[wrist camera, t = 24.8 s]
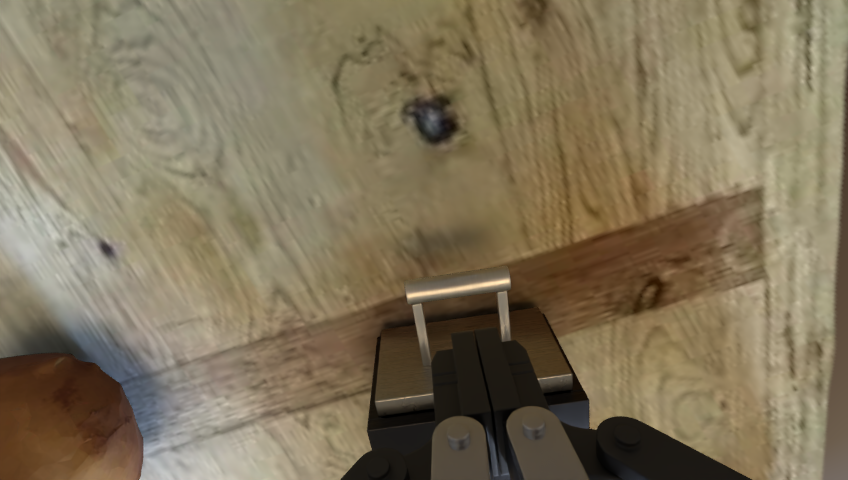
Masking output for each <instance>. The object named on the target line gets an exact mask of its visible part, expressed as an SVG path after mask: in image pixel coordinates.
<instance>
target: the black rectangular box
mask: <svg viewBox="0 0 848 480" xmlns="http://www.w3.org/2000/svg"><path fill="white" fill-rule="evenodd" d="M542 315H543V317H544V319H545V321H546V323H547V325H548V327H549V329H550V331H551V333H552V335H553V337H554V339H555V341H556V343H557V345H558V347H559V349H560V351H561V353H562V355H563V357H564V359H565V361H566V362H567V364H568V366H569V368H570V370H571V372H572V381H573V389H572V390H566V391H559V392H554V393H555V395H548V396H544V397H545V399H546V402H547V404H548V407H549V409H550V411H551V412H552V413H554V414H555V415H556V416H557V417H558V419H559V420H560V421H562V422H564V423H566V424H568V425H571V426H574V427H579V428H586V429H589V399H588V397H587V395H586V393H585V391H584V390H583V388H582V386H581V384H580V382H579V380H578V378H577V376H576V374H575V372H574V371H573V369H572V367H571V365H570V363H569V361H568V359H567V357H566V355H565V353H564V351H563V349H562V347H561V345H560V344H559V342H558V340H557V338H556V336H555V334H554V332H553V330H552V328H551V326H550V324H549V322H548V320H547V318H546V316H545V315H544V314H542ZM380 343H381V337H378V338H377V345H376V354H375V363H374V372H373V382H372V391H371V400H370V409H369V418H368V427H367V432H368V436H369V440H370V444H371V447H372V450H374V449H378V448H391V449H395V450H397V451H398V452H400V453H401V454H402V455H403V456H404V455H406V454H409V453H411V452H413V451H415V450H417V449H419V448H421V447H422V446H424V445H425V444H426V443H427V442H428V441H429V440H430V438H431V437H432V435H433V432H434V430H435V411H433V412H426V413H418V414H411V415H404V416H397V417H395V414H394V415H387V416H378V412H377V408H376V404H375V395H376V384H377V374H378V364H379V353H380ZM496 458H497V455H496ZM497 467H498V475H499V476H495V477H494V480H511V479H510V475H501V473H500V469H499V464H498V460H497Z"/></svg>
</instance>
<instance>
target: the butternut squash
mask: <svg viewBox="0 0 848 480" xmlns="http://www.w3.org/2000/svg"><path fill="white" fill-rule="evenodd" d="M142 464H143V437H142V435H141V432H140V430H139V428H138V425H137V422H136V419H135V416H134V413H133V409H132V407H131V405H130V403H129V401H128V399H127V397H126V395H125V393H124V391H123V388H122V386H121V384H120V383H118V382H117V381H116V380H114V379H113V378H112V377H110V376H109V375H107V374H106V373H105V372H103V371H102V370H101V369H100V367H99V366H98V365H97V364H95V363H91V362H83V361H80V360H78V359H76V358H75V357H74V356H73V355H72V354H65V353H41V354H31V355H22V356H14V357H7V358H0V480H139V479H140V476H141V469H142Z"/></svg>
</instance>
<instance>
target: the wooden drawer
mask: <svg viewBox="0 0 848 480" xmlns="http://www.w3.org/2000/svg"><path fill="white" fill-rule="evenodd" d="M510 289H511V279H510V273H509V270H508V267H507V266H501V267H494V268H487V269H480V270H474V271H467V272H460V273H453V274H446V275H440V276H433V277H426V278H419V279H412V280H406V281H405V293H406V299H407V303H408V304H412V308H413V314H414V319H415V325H411V326H404V327H397V328H390V329H383V330H382V332H381V343H380V353H379V364H378V374H377V384H376V395H375V404H376V408H377V412H378V416H387V415H394V414H395V417H397V416H404V415H411V414H418V413H426V412H433V411H434V397H433V383H432V370H431V362H432V360H433V358H434V356H435V354H436V351H441V350H448V349H453V347H452V340H451V333H455V332H462V331H469V330H472V331H473V335H474V330H475V329H482V328H489V327H497V330H498V333H499V336H500V339H501V342H504V341H511V340H516V341H517V342H518V343H520V344H521V345H522V346H523V347H524V348H525V349H526V351H527V353H528V356H529V358H530V361H531V363H532V366H533V368H534V372H535V374H536V376H537V379H538V381H539V384H540V386H541V389H542V391H543V394H544V396H548V395H555V393H554V392H559V391H566V390H572V389H573V381H572V372H571V370H570V368H569V366H568V364H567V362H566V361H565V359H564V357H563V355H562V353H561V351H560V349H559V347H558V345H557V343H556V341H555V339H554V337H553V335H552V333H551V331H550V329H549V327H548V325H547V323H546V321H545V319H544V317H543V315H542V313H541V311H540V309H539V308H538V307H536V308H529V309H522V310H515V311H509V308H508V297H507V290H510ZM491 292H496V300H497V311H498V313H494V314H487V315H480V316H473V317H466V318H459V319H452V320H445V321H439V322H432V323H426V321H425V315H424V310H423V304H422V302H429V301H436V300H443V299H450V298H456V297H463V296H470V295H477V294H484V293H491ZM474 339H475V335H474Z"/></svg>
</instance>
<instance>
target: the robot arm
mask: <svg viewBox="0 0 848 480" xmlns="http://www.w3.org/2000/svg"><path fill="white" fill-rule="evenodd" d="M474 335H475V339H474ZM474 335H473V331H472V330H469V331H462V332H455V333H451V340H452V347H453V349H448V350H441V351H436V354H435V356H434V358H433V360H432V362H431V370H432V383H433V397H434V411H435V430H434V432H433V435H432V437H431V438H430V440H429V441H428V442H427V443H426V444H425V445H424V446H422V447H421V448H419V449H417V450H415V451H413V452H411V453H409V454H406V455H404V456H403V455H402V454H401V453H400V452H398V451H397V450H395V449H391V448H378V449H374V450H372V451H370V452H368V453H366V454H365V455H363V456H362V457H361V458H360V459H359V460H358V461H357V462H356V463H355V464H354V465H353V466H352V468H351V469H350V470H349V471H348V472H347V473H346V474H345V475H344V476H343V477H342V478H341V480H494V477H495V476H499V475H498V467H497V460H498V464H499V469H500V473H501V475H510V479H511V480H752V479H750V478H748V477H746V476H744V475H742V474H740V473H738V472H736V471H735V470H733V469H731V468H729V467H727V466H725V465H723V464H721V463H719V462H717V461H715V460H713V459H712V458H710V457H708V456H706V455H704V454H702V453H700V452H698V451H696V450H694V449H692V448H690V447H689V446H687V445H685V444H683V443H681V442H679V441H677V440H675V439H673V438H671V437H669V436H668V435H666V434H664V433H662V432H660V431H658V430H656V429H654V428H652V427H650V426H648V425H646V424H645V423H643V422H641V421H638V420H636V419H633V418H629V417H621V416H620V417H611V418H608V419H606V420H604V421H603V422H602V423H600V425H599V426H598V428H597V430H593V429H586V428H579V427H574V426H571V425H568V424H566V423H564V422H562V421H560V420H559V419H558V417H557V416H556V415H555V414H554V413H552V412H551V411H550V409H549V407H548V404H547V402H546V399H545V397H544V394H543V391H542V389H541V386H540V384H539V381H538V379H537V376H536V374H535V372H534V368H533V366H532V363H531V361H530V358H529V356H528V353H527V351H526V349H525V348H524V347H523V346H522V345H521V344H520V343H518V342H517V341H516V340H511V341H504V342H501V339H500V336H499V333H498V330H497V327H489V328H482V329H475V330H474ZM496 455H497V458H496Z"/></svg>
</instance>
